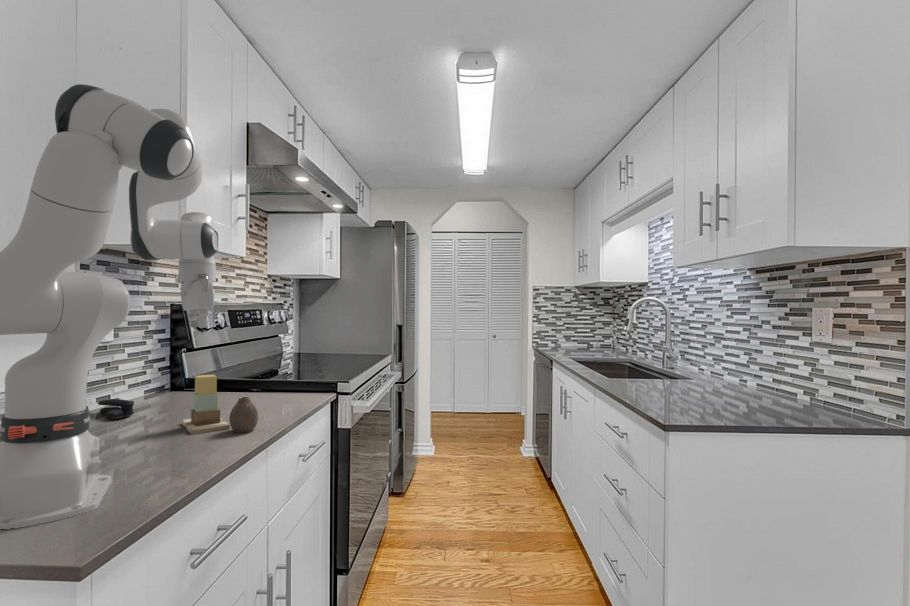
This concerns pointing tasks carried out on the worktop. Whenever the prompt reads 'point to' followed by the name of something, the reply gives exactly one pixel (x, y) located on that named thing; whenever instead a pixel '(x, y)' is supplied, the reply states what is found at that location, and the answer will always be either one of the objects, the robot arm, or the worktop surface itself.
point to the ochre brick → (205, 384)
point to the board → (205, 426)
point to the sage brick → (204, 402)
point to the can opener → (117, 408)
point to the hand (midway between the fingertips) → (197, 327)
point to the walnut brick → (205, 417)
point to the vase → (243, 416)
